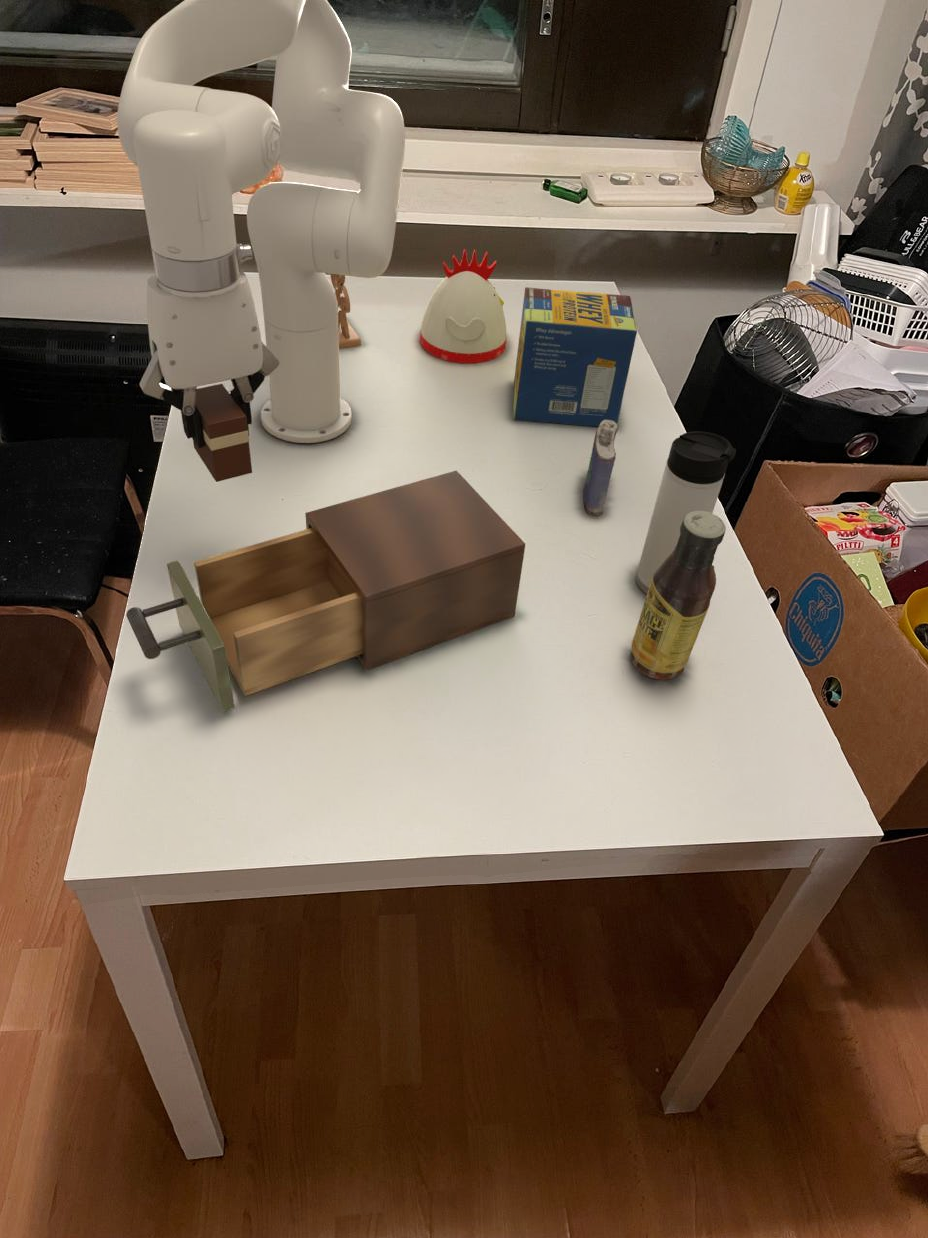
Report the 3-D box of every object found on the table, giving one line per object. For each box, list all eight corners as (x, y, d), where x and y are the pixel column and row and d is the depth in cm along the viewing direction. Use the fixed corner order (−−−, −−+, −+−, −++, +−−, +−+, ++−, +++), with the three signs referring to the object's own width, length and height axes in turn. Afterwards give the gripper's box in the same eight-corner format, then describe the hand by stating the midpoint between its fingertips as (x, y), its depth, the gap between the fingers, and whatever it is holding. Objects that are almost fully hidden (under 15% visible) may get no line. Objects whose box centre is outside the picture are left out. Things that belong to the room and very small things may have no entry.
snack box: (215, 482, 96) (207, 424, 91) (193, 447, 100) (184, 390, 96) (252, 473, 98) (246, 415, 93) (229, 439, 102) (222, 382, 97)
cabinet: (366, 670, 96) (365, 596, 89) (309, 586, 105) (305, 512, 98) (514, 616, 104) (525, 543, 97) (450, 541, 113) (456, 469, 105)
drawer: (169, 731, 88) (153, 669, 82) (128, 641, 96) (111, 578, 90) (383, 654, 97) (384, 592, 91) (330, 577, 105) (327, 516, 99)
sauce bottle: (623, 642, 102) (662, 497, 88) (677, 641, 103) (725, 498, 89) (635, 686, 98) (678, 541, 84) (692, 685, 98) (744, 542, 84)
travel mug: (678, 609, 107) (724, 466, 93) (626, 586, 109) (664, 443, 95) (698, 580, 111) (745, 439, 97) (648, 559, 113) (687, 417, 99)
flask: (603, 517, 118) (618, 446, 111) (580, 514, 118) (594, 443, 111) (606, 476, 125) (621, 407, 117) (584, 473, 125) (598, 404, 118)
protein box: (512, 383, 141) (523, 285, 130) (612, 392, 141) (632, 294, 130) (512, 420, 133) (524, 319, 122) (617, 429, 134) (639, 329, 123)
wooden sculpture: (361, 345, 146) (361, 271, 138) (338, 348, 145) (336, 274, 136) (343, 319, 152) (342, 247, 143) (320, 322, 150) (317, 249, 142)
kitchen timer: (505, 366, 144) (516, 273, 134) (418, 359, 144) (421, 265, 134) (504, 325, 154) (514, 235, 144) (422, 318, 154) (426, 228, 144)
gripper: (268, 236, 90) (280, 401, 103) (92, 262, 83) (129, 435, 96) (298, 267, 86) (307, 435, 98) (115, 296, 79) (150, 474, 91)
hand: (219, 434), depth 97 cm, fingers closed on snack box, 4 cm apart
